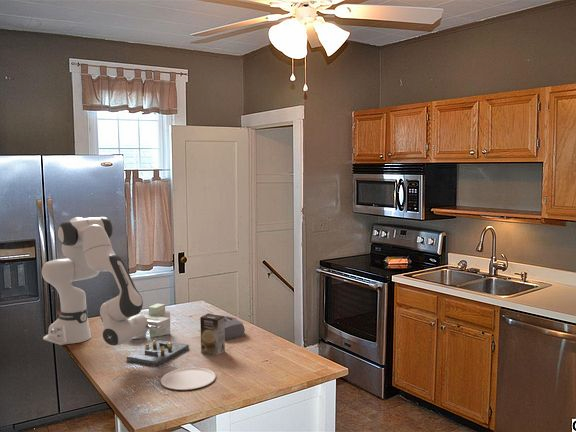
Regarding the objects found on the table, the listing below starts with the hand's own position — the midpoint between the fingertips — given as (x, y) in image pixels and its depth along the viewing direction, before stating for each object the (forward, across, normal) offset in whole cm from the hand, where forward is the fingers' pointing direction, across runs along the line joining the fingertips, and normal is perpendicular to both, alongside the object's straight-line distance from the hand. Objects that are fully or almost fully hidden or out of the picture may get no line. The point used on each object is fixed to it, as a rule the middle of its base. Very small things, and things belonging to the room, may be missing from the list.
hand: (158, 316), depth 228 cm
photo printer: (+21, +16, +17) cm, 32 cm away
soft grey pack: (+35, -12, +17) cm, 41 cm away
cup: (+13, +24, +17) cm, 32 cm away
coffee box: (+11, -20, +17) cm, 29 cm away
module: (-1, 0, +7) cm, 7 cm away
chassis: (-1, 0, +17) cm, 17 cm away
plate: (-18, -27, +18) cm, 37 cm away
